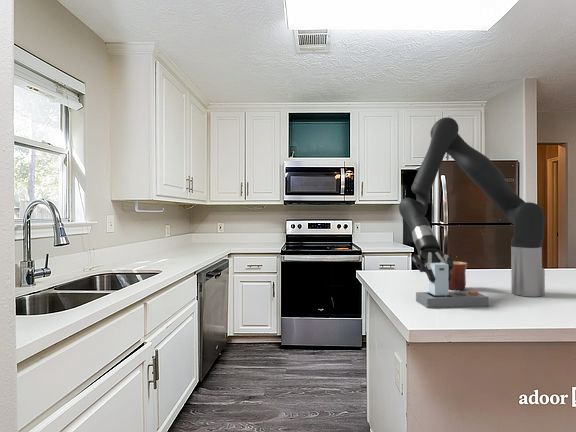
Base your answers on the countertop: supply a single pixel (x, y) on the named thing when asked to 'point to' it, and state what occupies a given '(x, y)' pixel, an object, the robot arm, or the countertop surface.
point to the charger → (439, 279)
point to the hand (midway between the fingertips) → (441, 280)
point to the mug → (458, 276)
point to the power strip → (452, 299)
